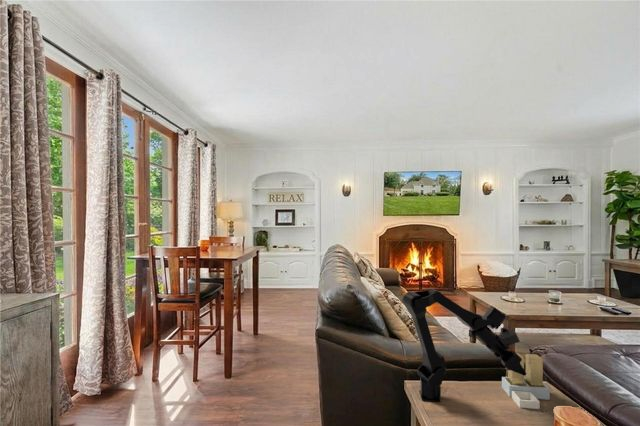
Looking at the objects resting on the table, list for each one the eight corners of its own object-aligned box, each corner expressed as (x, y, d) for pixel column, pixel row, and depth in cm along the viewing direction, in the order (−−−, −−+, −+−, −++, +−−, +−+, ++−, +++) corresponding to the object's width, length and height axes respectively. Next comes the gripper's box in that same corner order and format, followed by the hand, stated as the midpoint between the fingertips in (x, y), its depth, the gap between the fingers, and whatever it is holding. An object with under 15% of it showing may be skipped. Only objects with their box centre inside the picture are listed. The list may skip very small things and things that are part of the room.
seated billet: (531, 392, 121) (530, 358, 121) (525, 386, 124) (525, 353, 125) (543, 393, 120) (543, 359, 120) (537, 387, 124) (537, 354, 124)
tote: (519, 407, 114) (519, 400, 114) (511, 397, 120) (511, 390, 120) (539, 409, 113) (539, 401, 113) (530, 398, 119) (530, 391, 119)
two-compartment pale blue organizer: (509, 396, 120) (509, 385, 120) (501, 387, 127) (501, 376, 127) (549, 399, 118) (549, 388, 118) (539, 389, 125) (539, 379, 125)
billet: (512, 391, 121) (512, 357, 122) (507, 385, 125) (507, 352, 125) (524, 391, 121) (524, 358, 121) (519, 386, 125) (519, 353, 125)
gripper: (515, 332, 115) (549, 366, 113) (494, 316, 133) (523, 344, 131) (491, 353, 116) (525, 387, 114) (474, 334, 134) (503, 363, 133)
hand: (519, 368), depth 123 cm, fingers open, 9 cm apart
